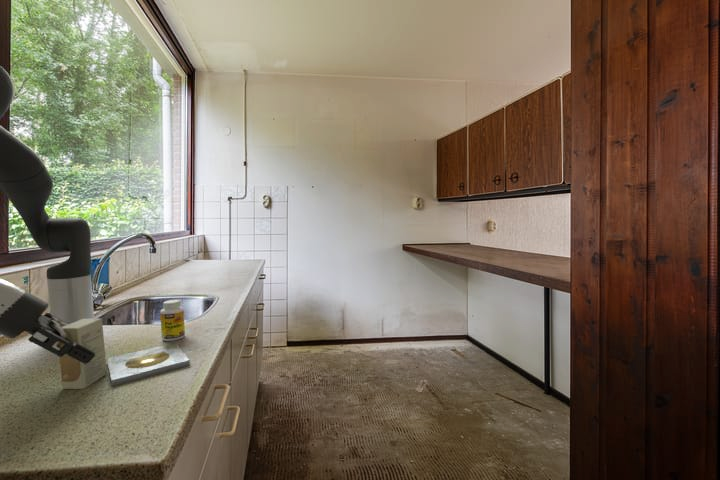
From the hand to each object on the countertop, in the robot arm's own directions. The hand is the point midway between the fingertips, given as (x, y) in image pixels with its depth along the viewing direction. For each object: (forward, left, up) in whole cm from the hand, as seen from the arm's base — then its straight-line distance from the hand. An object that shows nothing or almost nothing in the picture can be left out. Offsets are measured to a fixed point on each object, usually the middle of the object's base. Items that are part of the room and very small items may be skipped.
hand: (90, 352), depth 69 cm
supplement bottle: (-16, +18, -6) cm, 25 cm away
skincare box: (0, -1, -6) cm, 6 cm away
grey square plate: (-1, +10, -6) cm, 11 cm away
